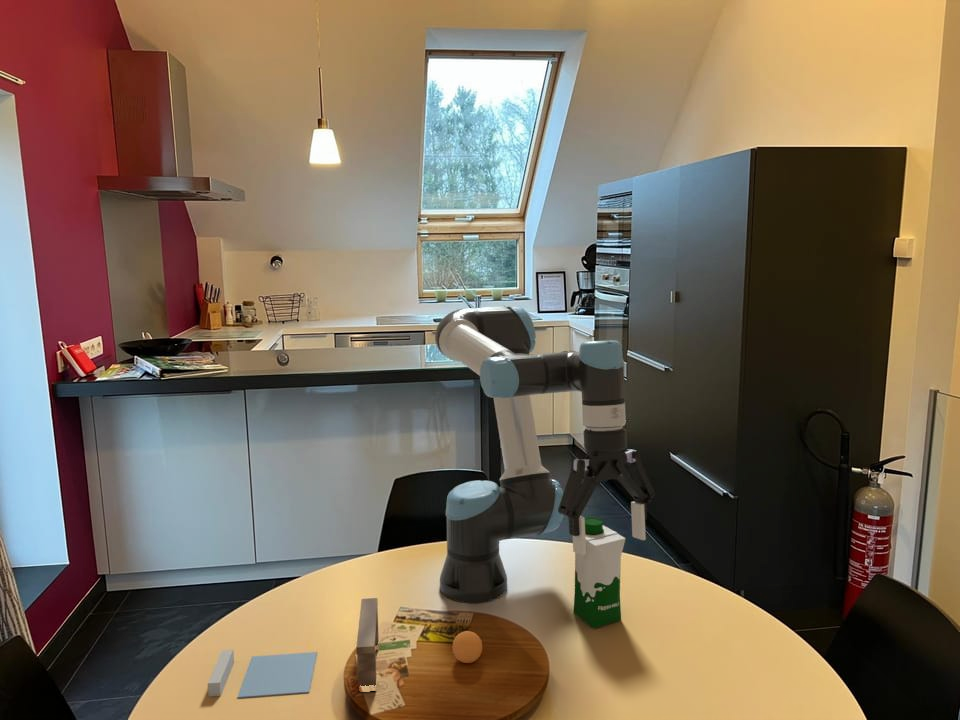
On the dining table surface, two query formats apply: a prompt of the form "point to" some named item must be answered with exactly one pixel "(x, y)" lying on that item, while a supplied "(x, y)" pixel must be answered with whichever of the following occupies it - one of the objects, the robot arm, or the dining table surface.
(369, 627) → the bridge
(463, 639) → the ball
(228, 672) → the rail
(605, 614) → the milk carton
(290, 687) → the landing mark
